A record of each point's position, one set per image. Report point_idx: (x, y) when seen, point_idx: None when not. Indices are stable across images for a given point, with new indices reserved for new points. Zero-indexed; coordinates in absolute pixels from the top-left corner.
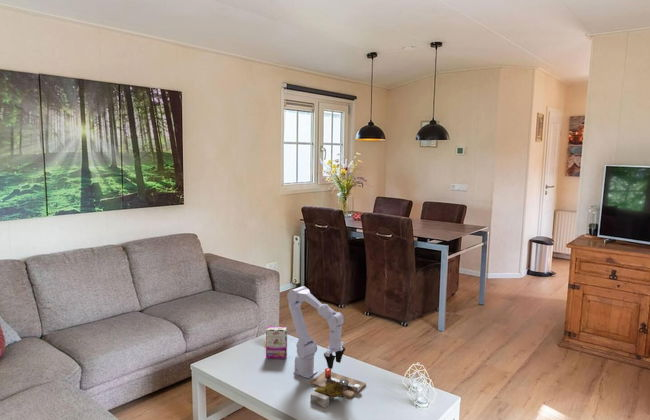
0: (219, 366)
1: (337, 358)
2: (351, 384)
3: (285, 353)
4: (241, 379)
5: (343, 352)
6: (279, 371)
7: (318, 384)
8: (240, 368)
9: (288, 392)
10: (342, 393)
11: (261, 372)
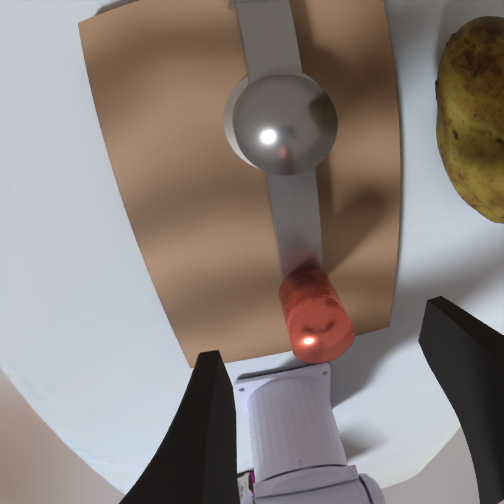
0: (400, 471)
1: (227, 422)
2: (257, 41)
3: (252, 491)
4: (443, 426)
5: (143, 498)
6: (345, 435)
7: (388, 275)
8: (388, 462)
9: (481, 312)
10: (391, 53)
11: (383, 442)
